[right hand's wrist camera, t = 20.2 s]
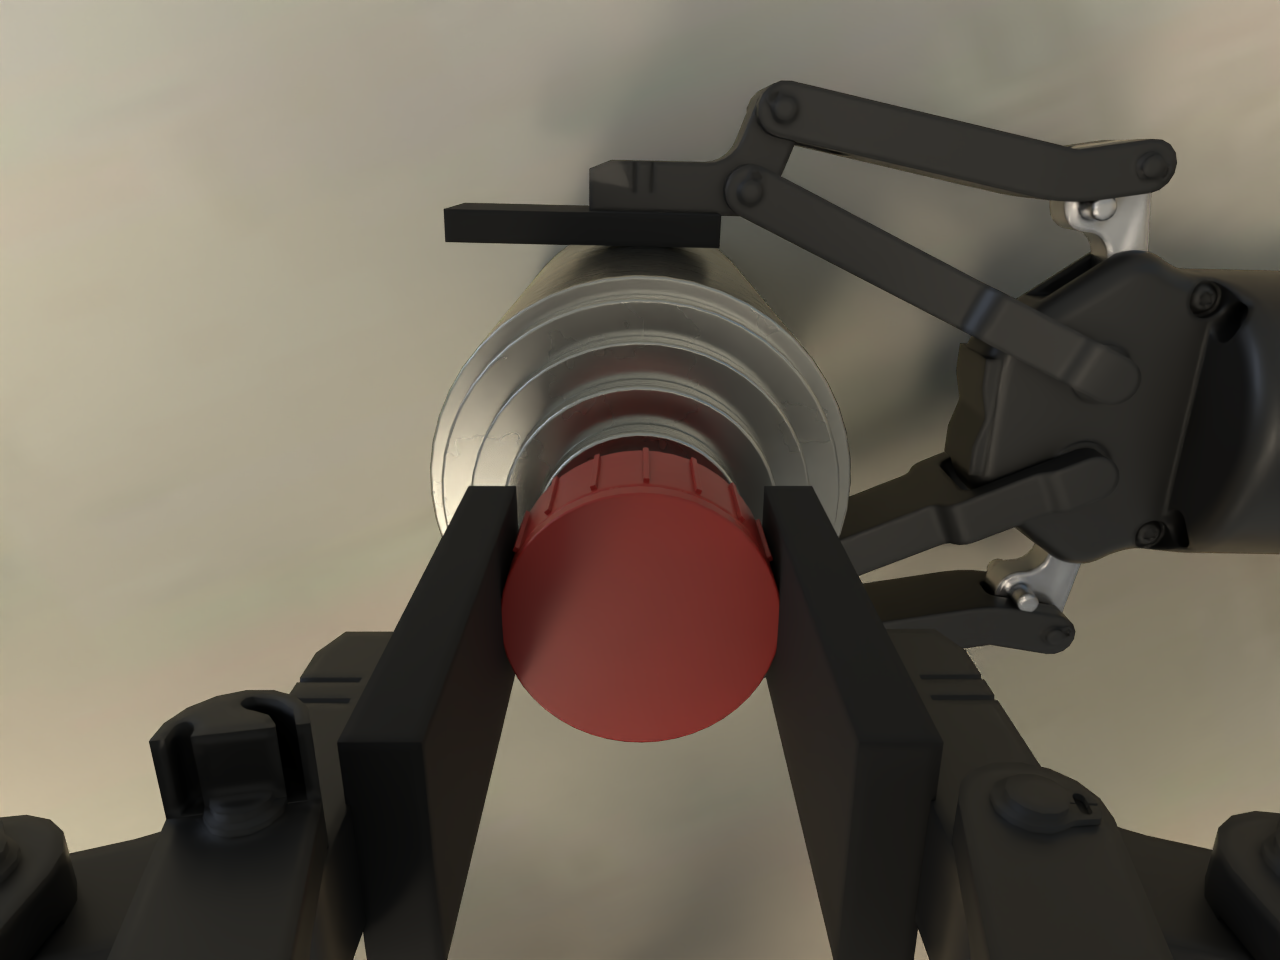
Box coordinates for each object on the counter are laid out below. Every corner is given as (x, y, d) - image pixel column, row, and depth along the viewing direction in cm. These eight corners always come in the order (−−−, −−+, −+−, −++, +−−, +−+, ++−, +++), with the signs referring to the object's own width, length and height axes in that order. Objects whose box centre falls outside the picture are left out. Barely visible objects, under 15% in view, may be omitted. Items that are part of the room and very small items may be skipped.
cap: (640, 391, 13) (639, 427, 12) (820, 564, 14) (846, 623, 13) (462, 566, 14) (436, 625, 13) (642, 718, 15) (643, 792, 14)
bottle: (809, 393, 30) (1018, 688, 14) (601, 512, 32) (558, 910, 15) (684, 170, 28) (751, 199, 11) (465, 310, 29) (234, 521, 13)
